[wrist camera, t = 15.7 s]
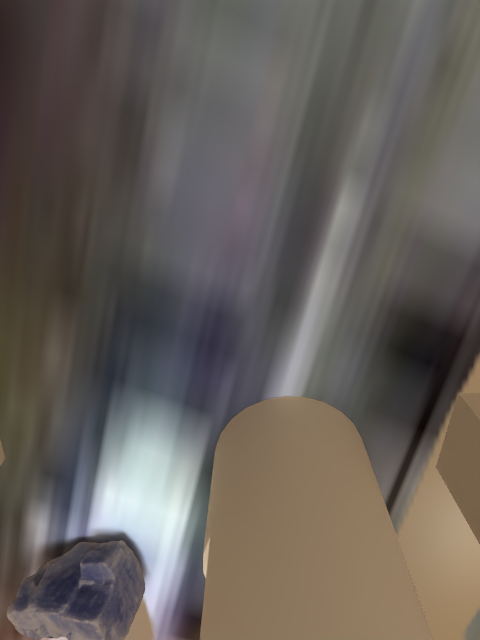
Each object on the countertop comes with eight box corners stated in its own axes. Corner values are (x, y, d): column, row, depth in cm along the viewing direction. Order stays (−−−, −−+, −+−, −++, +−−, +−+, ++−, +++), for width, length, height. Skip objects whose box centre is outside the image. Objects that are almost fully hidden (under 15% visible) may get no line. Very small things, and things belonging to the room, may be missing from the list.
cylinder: (253, 372, 47) (255, 664, 21) (393, 430, 50) (546, 754, 24) (192, 486, 54) (136, 816, 28) (319, 532, 56) (376, 875, 30)
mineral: (137, 524, 56) (115, 601, 47) (150, 576, 60) (132, 657, 51) (27, 529, 57) (-16, 606, 48) (46, 580, 61) (9, 661, 52)
